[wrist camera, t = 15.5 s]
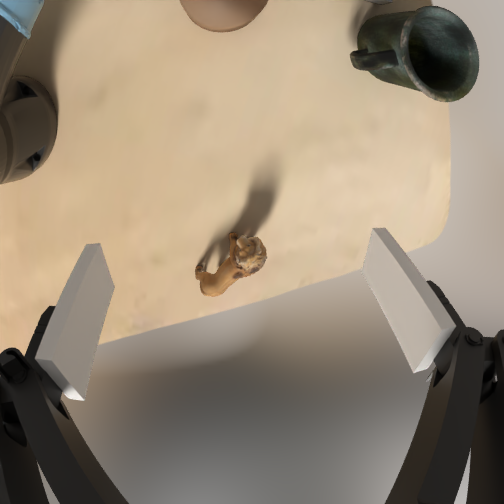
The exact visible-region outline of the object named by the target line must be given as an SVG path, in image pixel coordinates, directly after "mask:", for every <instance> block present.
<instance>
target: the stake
mask: <svg viewBox="0 0 504 504" xmlns="http://www.w3.org/2000/svg"><path fill="white" fill-rule="evenodd" d="M180 2H181V5H182V7H183V8H184V10H185V11H186V13H187V14H188V16H189V17H190V19H191V20H192V21H193V22H194V23H195V24H197V25H198V26H200V27H202V28H204V29H206V30H209V31H213V32H230V31H235V30H238V29H240V28H243V27H244V26H246V25H248V24H249V23H250V22H251V21H252V20H254V19H255V17H256V16H257V15H258V14H259V13H260V12H261V11H262V9H263V8H264V7H265V5H266V4H267V2H268V0H180Z"/></svg>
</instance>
